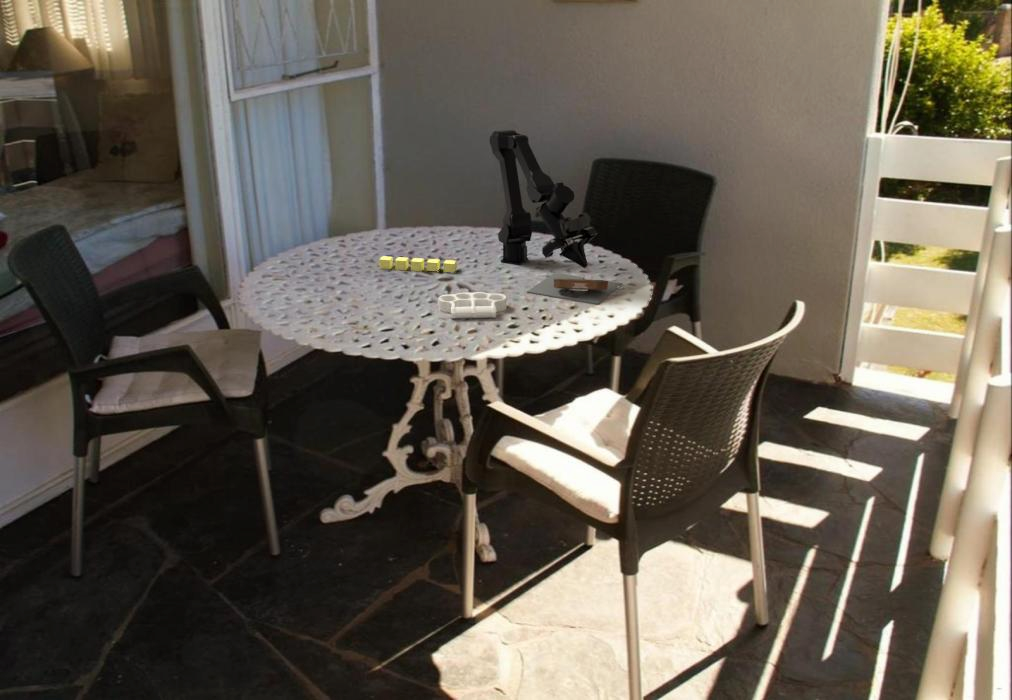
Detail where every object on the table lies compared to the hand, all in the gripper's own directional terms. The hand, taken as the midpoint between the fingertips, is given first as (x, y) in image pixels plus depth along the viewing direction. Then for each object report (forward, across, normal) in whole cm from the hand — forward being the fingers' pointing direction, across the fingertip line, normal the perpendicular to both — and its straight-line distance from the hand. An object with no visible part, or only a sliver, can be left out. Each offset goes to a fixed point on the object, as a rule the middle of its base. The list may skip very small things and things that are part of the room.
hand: (586, 266), depth 279 cm
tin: (+3, 0, +5) cm, 6 cm away
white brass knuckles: (-4, -33, +14) cm, 36 cm away
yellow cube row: (-30, -17, +40) cm, 53 cm away
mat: (+3, -1, +7) cm, 8 cm away
